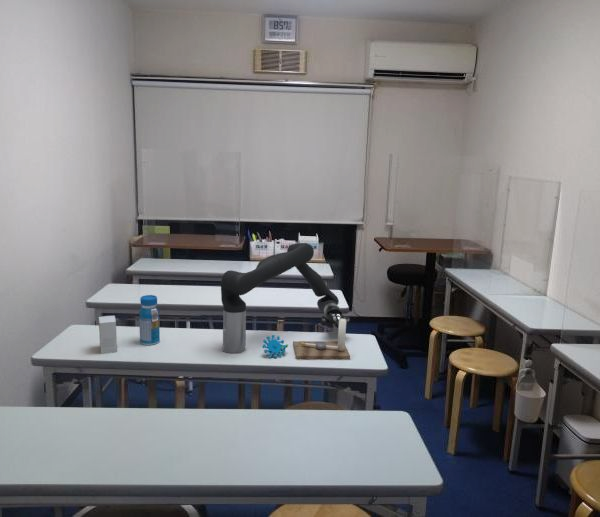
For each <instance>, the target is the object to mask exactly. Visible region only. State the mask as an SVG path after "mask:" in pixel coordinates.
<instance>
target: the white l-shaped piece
mask: <svg viewBox="0 0 600 517" xmlns="http://www.w3.org/2000/svg"><path fill="white" fill-rule="evenodd" d="M346 331H347V323H346V319H339V328H338V331H337V332H338V333H337V341H338V347H337V346H328V345H326V343H323V342H318V343H316V344H310V343H303V342H302V343H301V345H305V346H314V347H316V349H319V350H324V349H326V348H333V349H337V350H339V351H344V350H345V346H346Z"/></svg>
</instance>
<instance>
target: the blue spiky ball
mask: <svg viewBox="0 0 600 517" xmlns="http://www.w3.org/2000/svg"><path fill="white" fill-rule="evenodd" d="M275 337H276V335H275V334H271V336H270V335H268V336H266V338H265V339H264V340H263V341H262V342H263V343H264V344H262V346H261V347H262V348H263V349H264V351H263V352H264V353H265V354H267V353H268V357H269V358H271V357H272V355H273V354H274V355H273V359H277V358H281V356H282V357H283V354H285V352H286V349H287V348H288V347H289V344H287V343H286V344H284V343H285V340H284V339H281V337H280V336H277V337H276V339H275ZM270 338H271V340H270ZM267 341H268V342H267ZM281 351H282V352H281Z"/></svg>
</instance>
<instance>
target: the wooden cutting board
mask: <svg viewBox="0 0 600 517" xmlns="http://www.w3.org/2000/svg"><path fill="white" fill-rule="evenodd" d="M302 342H303V343H310V344H316V343H318V342H323V343H326V345H328V346H337V347H338V340H337V341H335V340H333V341H331V340H330V341H327V340H326V341H320V340H317V341H311V340H310V341H301V340H299V341H296V340H295V341H292V346H293V350H294V355H295V356H296V357H295V359H298V360H300V359H301V360H303V361H304V360H309V361H310V360H351V354H350V353H349V351H348V348H347V346H346V345H345V350H344V351H339V350H337V349H333V348H326V349H324V350H319V349H316V347H314V346H305V345H301V343H302Z"/></svg>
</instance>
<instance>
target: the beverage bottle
mask: <svg viewBox="0 0 600 517" xmlns="http://www.w3.org/2000/svg"><path fill="white" fill-rule="evenodd" d="M139 302H140V306H141V307H140V309H139V311H138V314H139V317H138V323H139V343H140V344H142V345H144V346H153V345H156V344H158V343H160V341H161V338H160V337H161V336H160V331H161V330H160V320H161V319H160V318H161V317H160V315H159V314H160V310H159V308H158V306H157V305H158V296H156V295H154V294H145V295H142V296H141V297H140V301H139Z"/></svg>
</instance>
